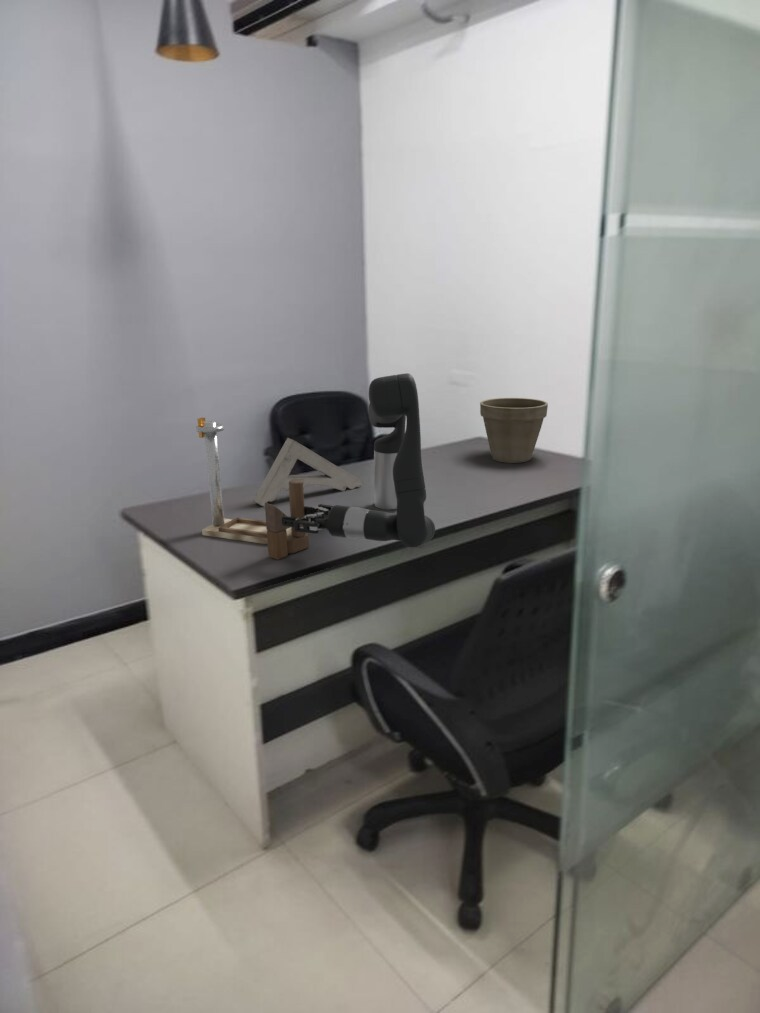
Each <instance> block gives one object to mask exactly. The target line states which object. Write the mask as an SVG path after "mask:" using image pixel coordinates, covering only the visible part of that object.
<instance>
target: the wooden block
mask: <svg viewBox="0 0 760 1013" xmlns="http://www.w3.org/2000/svg"><path fill="white" fill-rule="evenodd" d="M304 488H305V487H303V481H302V480H299V479H295V480H291V481H289V490H288V493H289V494H288V496H289V514H290V516H289V517H297V518H299V517H305V512H304V506H305V493H304V492H305V490H304ZM264 510H265V511H264V512H265V521H266V529H267V541H268V544H267V554H268V557H269V558H272V559H275V560H277V561H278V560H281V559H282V558H286V557H288V555H289V554H295V553H298V552H300V551H303V550H307V549H308V548H310V544H309V542H310V538H309V534H308V533H305V532H296V531H295V527H292V526H284V525H283V524H282V517H284V516H287V515H286V514H285V513H284V512H283V511H282V510H280V509H279V508H278V507H277V506H276V505H274V504H271V503H268V502H267V503H265V507H264ZM304 521H305V520H304ZM301 525H302V524H301ZM290 527H291V534H292V535H289V536H287V532H286V529H288V528H290ZM302 529H303V528H302Z"/></svg>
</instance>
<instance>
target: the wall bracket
mask: <svg viewBox="0 0 760 1013" xmlns="http://www.w3.org/2000/svg"><path fill="white" fill-rule="evenodd" d="M298 460H299V461H301V462H303V463H304V464H305V465H307V466H309V467H311V468H312V469H314V470H316V471H318V472H319V473H321V474H305V475H297V474H295V475H290V474H291V472H292V470H293V468H294V466H295V464H296V463H297V461H298ZM295 479H299V480H302V481H303V488H305V487H311V486H320V487H321V486H323V487H330V488H333V489H336V490H338V491H341V492H346V489H347V488H348V489H350V490H354V489H355V488H357V487H358V488H359V487H361V486H362V485H363V483H364V482H363V481H362V480H360V479H359V478H357V477H355V476H354V475H352V474H351V473H349V472H348V471H346V470H344V469H343V468H341V467H339V466H338V465H336V464H334V463H332V462H331V461H329V460H328V459H326V458H324V457H323V456H320V455H319V454H318V453H316V452H314V451H313V450H311V449H309V448H308V447H306V446H304V445H303V444H301V443H299V442H298V441H296V440H294V439H292V438H290V437H287V438H286V440H285V442H284V443H283V445H282V447H281V449H280V450H279V452H278V454H277V456H276V458H275V459H274V461H273V463H272V465H271V467H270V469H269V470H268V473H267V474H266V476H265V478H264V480H263V481H262V484H261V485H260V487H259V489H258V491H257V493H256V495H255V496H254V498H253V500H252V501H253V502H255V503H256V504H258V505H259V506H261V507H263V508H265V503H268V502H273V501H275V500H276V499H277V497H278V496H279V493H281V492H280V491H281V490H284V491H285V492H289V481H291V480H295Z"/></svg>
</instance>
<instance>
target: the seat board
mask: <svg viewBox="0 0 760 1013" xmlns="http://www.w3.org/2000/svg"><path fill="white" fill-rule="evenodd" d="M224 523H225V524H224V525H223V526H220V527H215V526H213V523H211V524H210V525H208V526H206V527H204V528H202V530H201V533H202V536H207V537H212V538H213V537H215V538H222V539H228V540H235V541H243V542H249V543H256V544H257V543H258V544H262V545H263V544H264V545H268V541H267V529H266V520H259V519H251V518H244V517H235V518H233V519H231V518H224ZM286 532H287V536H289V535H292V534H291V527H290V528H288V529H286Z"/></svg>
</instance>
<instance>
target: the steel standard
mask: <svg viewBox="0 0 760 1013" xmlns="http://www.w3.org/2000/svg"><path fill="white" fill-rule="evenodd" d="M224 430H225V426H224V424H222V423H217V421H213V420H211V421H209V420H208V421H206V417H198V418H197V426H196V432H197V433H198V437H199V438H204V445H205V455H206V466H207V475H208V476H207V477H208V478H207V480H208V488H209V489H208V490H209V499H210V509H211V510H210V511H211V518H212V519H211V520H212V523H211V524H213V526H215V527H220V526H223V525H224V524H225V523H224V519H225V514H224V502H223V501H224V500H223V492H222V488H223V487H222V480H221V479H222V478H221V466H220V456H219V455H220V454H219V453H220V452H219V444H218V443H219V442H218V433H219V432H222V431H224Z"/></svg>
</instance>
